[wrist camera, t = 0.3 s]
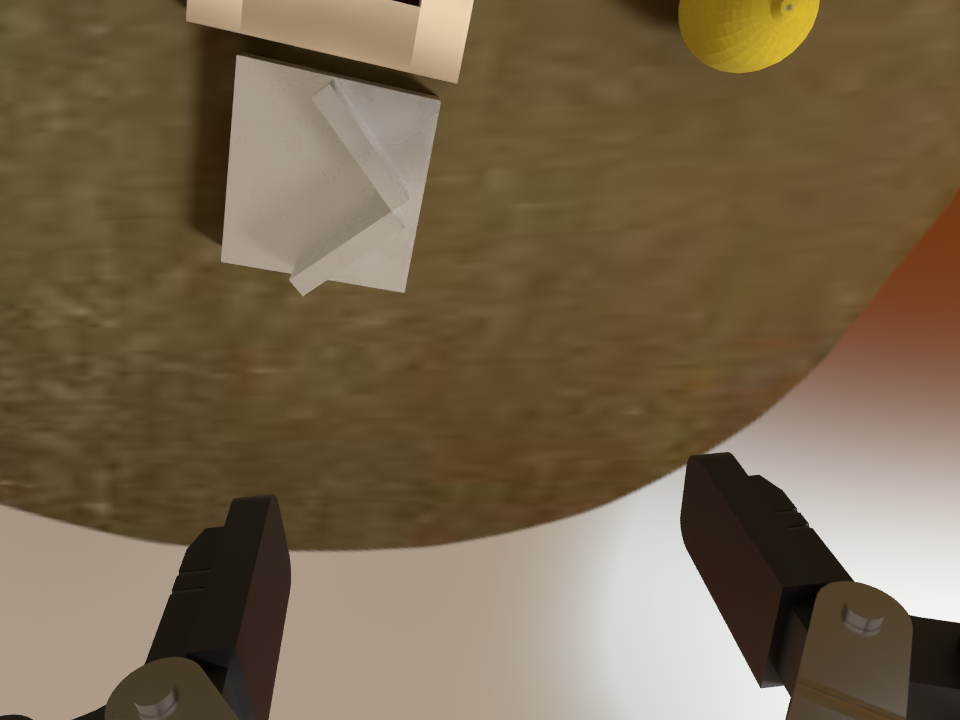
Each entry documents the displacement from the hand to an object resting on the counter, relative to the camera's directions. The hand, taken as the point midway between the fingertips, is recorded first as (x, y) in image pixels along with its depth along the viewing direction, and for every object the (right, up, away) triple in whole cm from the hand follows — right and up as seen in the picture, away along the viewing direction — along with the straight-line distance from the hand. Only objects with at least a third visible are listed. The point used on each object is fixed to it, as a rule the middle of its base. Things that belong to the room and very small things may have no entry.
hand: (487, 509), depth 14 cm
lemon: (+11, +21, +22) cm, 32 cm away
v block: (-8, +13, +23) cm, 28 cm away
